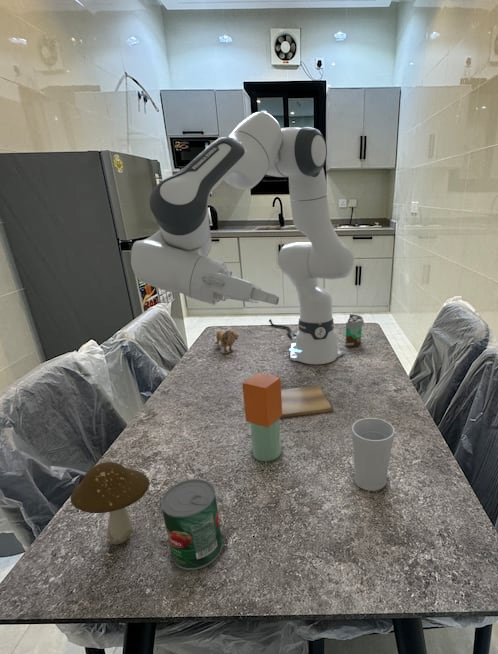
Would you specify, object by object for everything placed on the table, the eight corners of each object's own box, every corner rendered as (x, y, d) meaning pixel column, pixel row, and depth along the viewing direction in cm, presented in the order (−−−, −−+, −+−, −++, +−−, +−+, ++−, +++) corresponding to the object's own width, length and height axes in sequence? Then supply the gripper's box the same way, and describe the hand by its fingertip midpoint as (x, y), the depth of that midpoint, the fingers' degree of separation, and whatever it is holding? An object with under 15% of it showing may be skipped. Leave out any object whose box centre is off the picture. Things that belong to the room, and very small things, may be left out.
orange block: (245, 421, 81) (242, 382, 77) (260, 409, 85) (257, 372, 82) (268, 427, 78) (265, 388, 75) (282, 414, 83) (280, 377, 79)
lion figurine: (242, 352, 142) (240, 329, 138) (230, 356, 138) (227, 333, 135) (220, 343, 151) (218, 321, 148) (208, 346, 148) (206, 324, 144)
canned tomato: (161, 561, 60) (148, 507, 55) (192, 524, 67) (182, 474, 62) (204, 577, 57) (194, 521, 53) (232, 537, 64) (225, 485, 60)
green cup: (251, 446, 88) (248, 412, 84) (278, 443, 89) (276, 409, 85) (254, 463, 82) (251, 427, 78) (283, 459, 83) (281, 423, 80)
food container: (361, 349, 143) (362, 323, 139) (345, 348, 144) (346, 322, 140) (364, 338, 154) (365, 314, 150) (349, 337, 155) (349, 313, 151)
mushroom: (151, 560, 60) (131, 484, 54) (76, 565, 60) (48, 489, 54) (167, 516, 69) (152, 446, 63) (102, 520, 68) (80, 450, 62)
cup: (343, 473, 79) (344, 423, 74) (376, 463, 81) (379, 414, 77) (362, 498, 72) (365, 445, 67) (398, 486, 75) (403, 434, 70)
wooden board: (272, 393, 111) (272, 390, 111) (319, 388, 114) (319, 385, 114) (279, 418, 99) (279, 414, 98) (332, 411, 102) (332, 407, 101)
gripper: (203, 259, 67) (279, 282, 68) (225, 271, 88) (283, 288, 89) (194, 294, 68) (269, 316, 69) (218, 298, 88) (276, 314, 89)
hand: (277, 300), depth 79 cm, fingers open, 8 cm apart
